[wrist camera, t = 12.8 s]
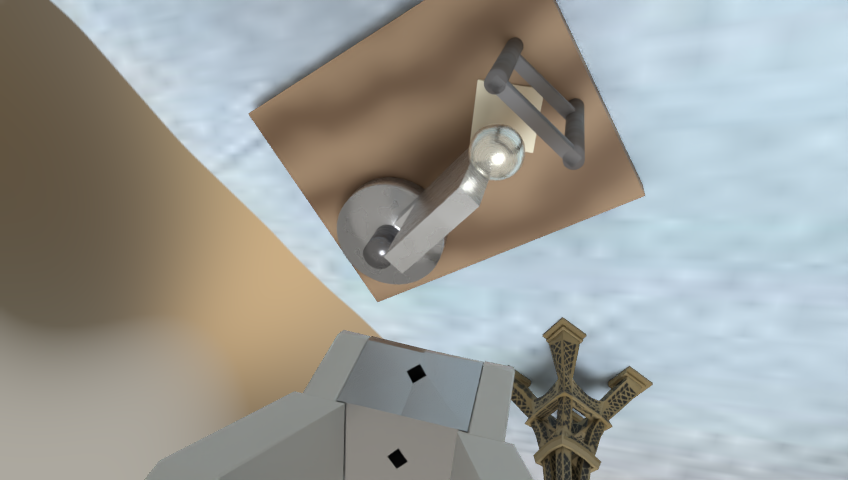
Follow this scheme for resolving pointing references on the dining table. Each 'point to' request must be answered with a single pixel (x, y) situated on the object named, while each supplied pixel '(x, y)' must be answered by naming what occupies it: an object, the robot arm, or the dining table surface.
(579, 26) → the dining table surface
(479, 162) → the crank handle
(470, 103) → the stand
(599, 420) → the eiffel tower
